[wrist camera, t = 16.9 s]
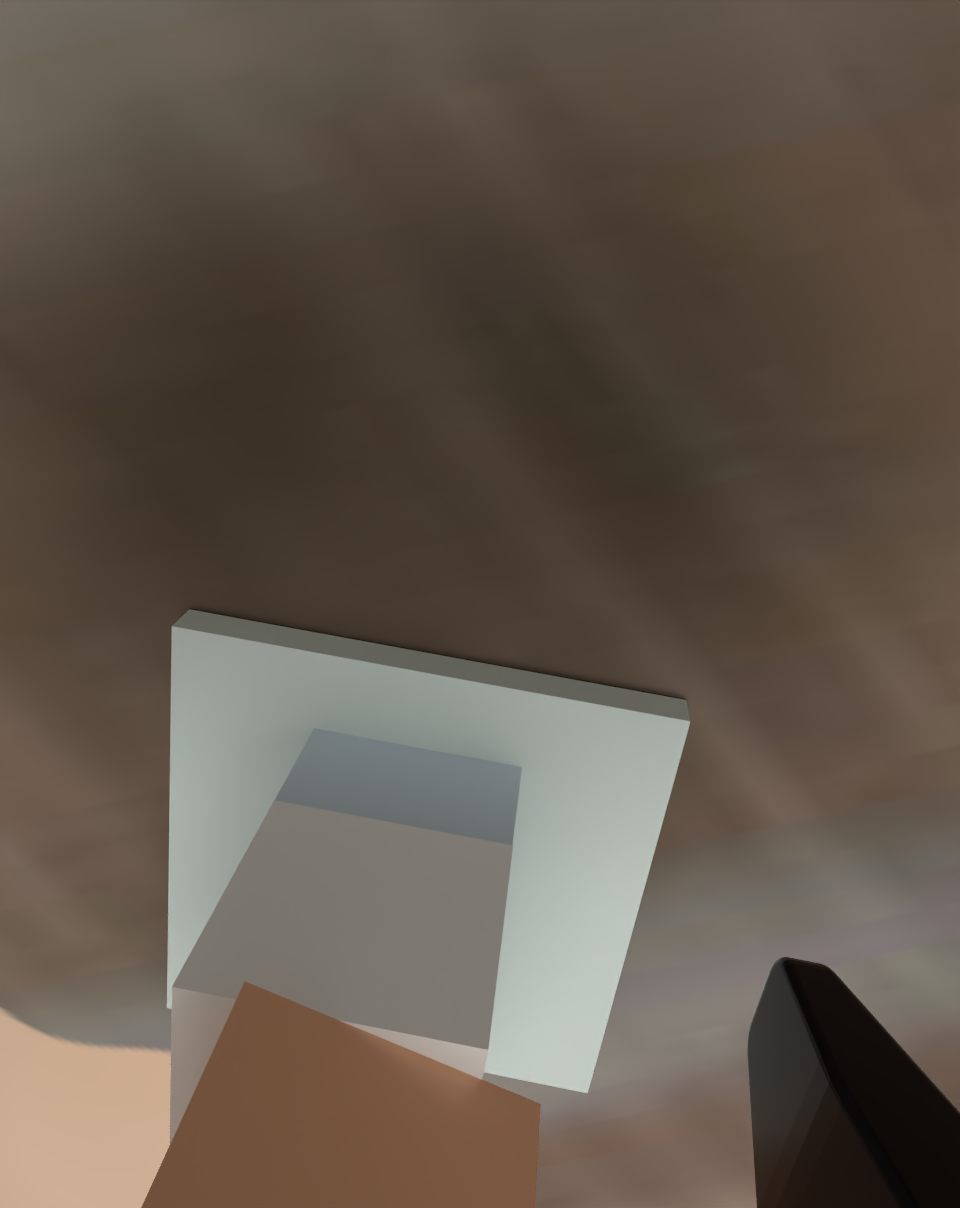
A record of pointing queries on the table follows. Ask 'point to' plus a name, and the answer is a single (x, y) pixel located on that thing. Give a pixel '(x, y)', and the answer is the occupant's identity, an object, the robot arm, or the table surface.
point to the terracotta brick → (341, 1123)
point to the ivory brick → (351, 938)
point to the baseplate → (457, 711)
